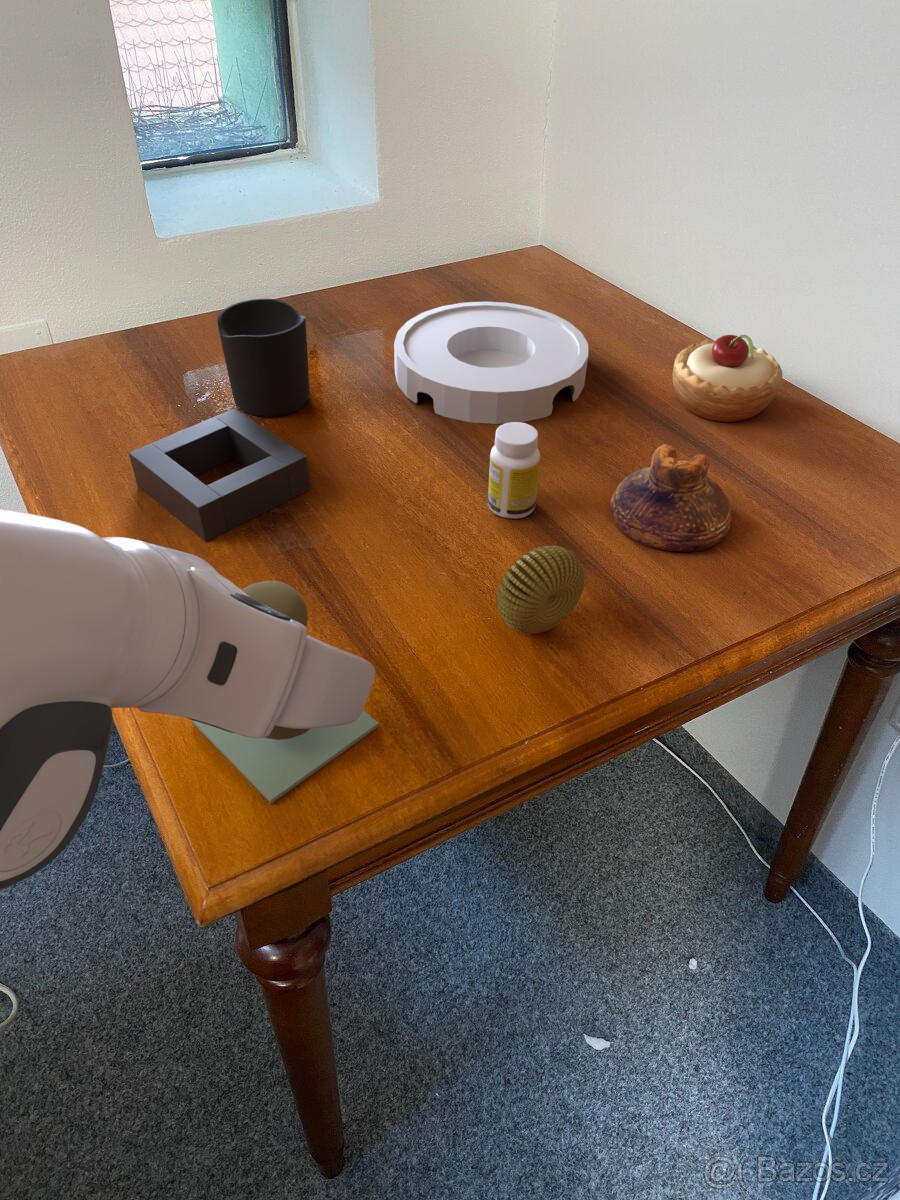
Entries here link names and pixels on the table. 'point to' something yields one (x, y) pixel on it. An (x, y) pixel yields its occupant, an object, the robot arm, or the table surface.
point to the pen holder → (265, 356)
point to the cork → (290, 605)
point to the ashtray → (490, 361)
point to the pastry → (726, 378)
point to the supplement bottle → (514, 470)
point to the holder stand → (232, 498)
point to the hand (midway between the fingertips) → (279, 642)
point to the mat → (286, 753)
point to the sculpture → (540, 589)
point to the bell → (672, 504)
